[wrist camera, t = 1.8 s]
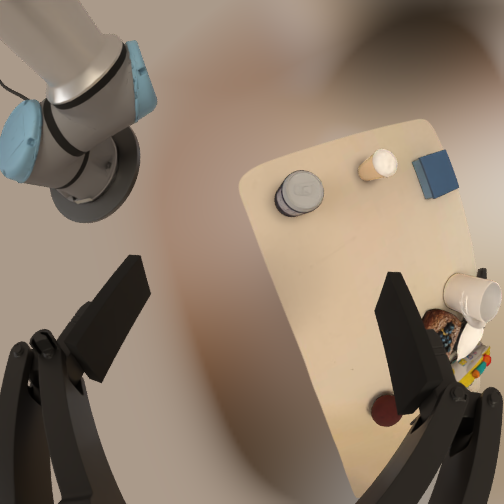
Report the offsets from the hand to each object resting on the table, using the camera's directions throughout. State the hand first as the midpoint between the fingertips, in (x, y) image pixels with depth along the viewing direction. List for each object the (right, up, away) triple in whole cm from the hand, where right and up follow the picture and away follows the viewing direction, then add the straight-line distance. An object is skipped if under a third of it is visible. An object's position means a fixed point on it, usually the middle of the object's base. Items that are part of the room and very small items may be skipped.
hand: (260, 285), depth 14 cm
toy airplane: (+58, -22, +31) cm, 69 cm away
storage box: (+36, +17, +31) cm, 51 cm away
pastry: (+39, -16, +34) cm, 54 cm away
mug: (+45, -9, +33) cm, 57 cm away
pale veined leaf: (+49, -18, +32) cm, 61 cm away
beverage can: (+6, +10, +32) cm, 34 cm away
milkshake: (+20, +16, +32) cm, 41 cm away
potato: (+26, -34, +29) cm, 51 cm away
